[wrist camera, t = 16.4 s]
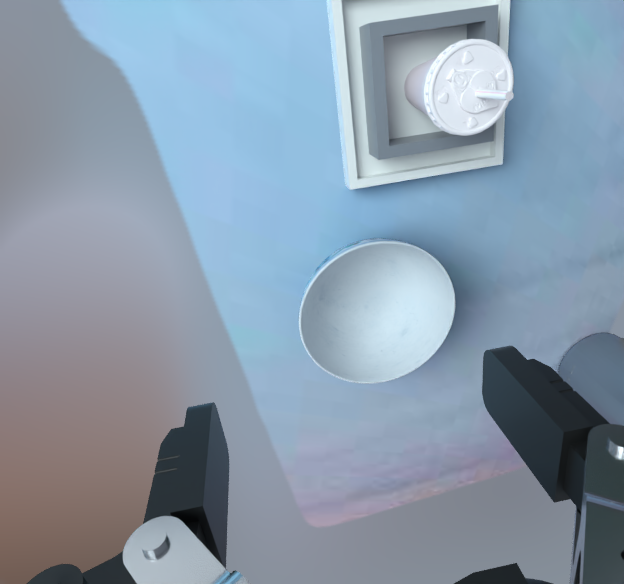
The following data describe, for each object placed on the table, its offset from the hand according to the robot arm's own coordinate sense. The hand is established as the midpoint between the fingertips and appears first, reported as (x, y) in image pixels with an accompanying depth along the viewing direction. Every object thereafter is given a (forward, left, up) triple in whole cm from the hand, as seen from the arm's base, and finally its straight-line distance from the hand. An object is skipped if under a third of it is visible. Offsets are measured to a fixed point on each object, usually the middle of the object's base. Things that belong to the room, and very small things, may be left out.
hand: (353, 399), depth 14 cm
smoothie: (-14, -6, -33) cm, 37 cm away
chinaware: (-7, +13, -34) cm, 37 cm away
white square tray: (-14, -6, -34) cm, 37 cm away
